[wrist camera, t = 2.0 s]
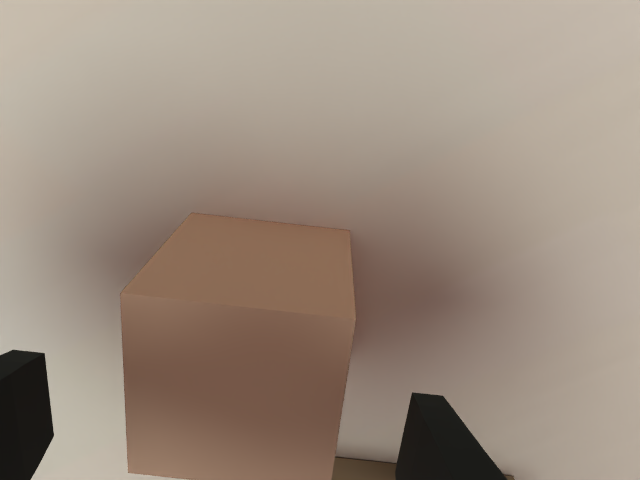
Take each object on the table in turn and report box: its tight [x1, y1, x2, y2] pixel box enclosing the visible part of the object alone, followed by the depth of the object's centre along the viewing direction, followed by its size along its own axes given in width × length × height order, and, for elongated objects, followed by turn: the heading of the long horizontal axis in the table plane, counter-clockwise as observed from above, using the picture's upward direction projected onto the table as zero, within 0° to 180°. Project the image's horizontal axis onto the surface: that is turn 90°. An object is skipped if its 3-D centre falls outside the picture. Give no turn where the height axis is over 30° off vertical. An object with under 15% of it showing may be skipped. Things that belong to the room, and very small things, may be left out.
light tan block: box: [120, 213, 356, 480], centre depth 13 cm, size 4×4×5 cm
